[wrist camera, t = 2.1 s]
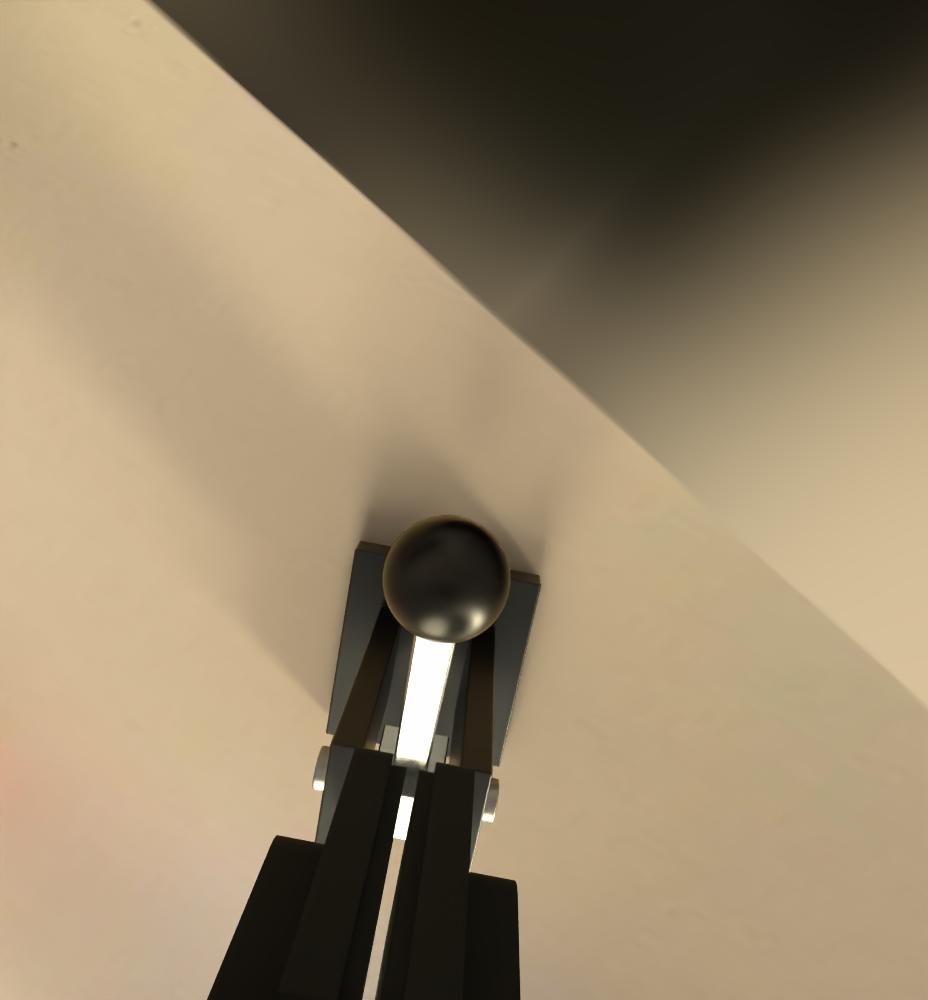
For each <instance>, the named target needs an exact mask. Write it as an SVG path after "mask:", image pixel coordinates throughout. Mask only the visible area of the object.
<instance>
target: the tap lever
mask: <svg viewBox="0 0 928 1000" xmlns="http://www.w3.org/2000/svg"><path fill="white" fill-rule="evenodd" d="M383 590H384V595H385V598H386V601H387V604H388V607H389V609H390V610H391V612H392V614H393V615H394V617H395V618H396V620H397V621H398V622H399V623H400V624H401V625H402V626H403V627H404V628H405V629H406V630H408V631H409V632H410V633H412V634H414V640H413V646H412V652H411V658H410V664H409V670H408V676H407V682H406V688H405V694H404V700H403V706H402V712H401V718H400V724H399V727H397V726H392V725H387V724H385V725H384V728H383V732H382V737H381V741H380V746H379V750H378V751H382V752H387V753H393V754H394V757H393V763H392V765H397V766H402V767H407V770H406V775H405V780H404V785H403V791H402V796H401V801H400V806H399V811H398V817H397V822H396V827H395V832H394V837H393V838H398V839H404V840H405V839H406V834H407V829H408V824H409V819H410V814H411V809H412V804H413V799H414V794H415V789H416V784H417V779H418V774H419V770H423V771H428V772H434V770H435V765H436V762H440V763H445V762H446V756H447V749H448V743H449V737H448V736H444V735H439V734H435V733H436V729H437V724H438V720H439V715H440V711H441V706H442V702H443V697H444V693H445V688H446V684H447V679H448V675H449V670H450V666H451V661H452V657H453V652H454V648H455V643H459V642H463V641H466V640H469V639H471V638H474V637H476V636H478V635H479V634H481V633H482V632H484V631H485V630H486V629H488V628H489V627H490V626H491V625H492V624H493V623H494V622H495V621H496V619H497V618H498V617H499V615H500V614H501V612H502V610H503V609H504V606H505V604H506V601H507V599H508V595H509V590H510V569H509V563H508V560H507V557H506V555H505V552H504V550H503V548H502V547H501V545H500V543H499V542H498V541H497V539H496V538H495V537H494V536H493V535H492V534H491V533H490V532H489V531H488V530H487V529H486V528H484V527H483V526H481V525H480V524H478V523H476V522H474V521H472V520H469V519H467V518H463V517H459V516H453V515H441V516H434V517H430V518H426V519H424V520H421V521H419V522H417V523H415V524H414V525H412V526H411V527H409V528H408V529H407V530H405V531H404V532H403V533H402V534H401V535H400V536H399V537H398V538H397V540H396V541H395V542H394V544H393V545H392V547H391V549H390V550H389V553H388V555H387V558H386V560H385V564H384V569H383Z"/></svg>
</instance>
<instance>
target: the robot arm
mask: <svg viewBox="0 0 928 1000" xmlns="http://www.w3.org/2000/svg"><path fill="white" fill-rule="evenodd" d="M393 757H394V754H393V753H387V752H382V751H377V750H372V749H366V748H361V747H355V750H354V753H353V756H352V759H351V762H350V765H349V768H348V771H347V775H346V778H345V781H344V784H343V787H342V790H341V793H340V797H339V800H338V803H337V806H336V809H335V812H334V816H333V819H332V822H331V825H330V828H329V831H328V834H327V838H326V841H325V844H320V843H315V842H310V841H305V840H300V839H294V838H289V837H284V836H279V835H277V836H276V837H275V838H274V840H273V842H272V844H271V846H270V848H269V851H268V853H267V856H266V858H265V860H264V863H263V865H262V868H261V870H260V873H259V875H258V877H257V880H256V882H255V885H254V887H253V890H252V892H251V894H250V897H249V899H248V902H247V904H246V906H245V909H244V911H243V914H242V916H241V919H240V921H239V923H238V926H237V928H236V931H235V933H234V936H233V938H232V940H231V943H230V945H229V948H228V950H227V953H226V955H225V957H224V960H223V962H222V965H221V967H220V970H219V972H218V974H217V977H216V979H215V982H214V984H213V987H212V989H211V991H210V994H209V996H208V999H207V1000H362V997H363V992H364V987H365V982H366V977H367V972H368V967H369V962H370V957H371V951H372V946H373V941H374V936H375V931H376V926H377V920H378V915H379V910H380V905H381V900H382V894H383V889H384V884H385V879H386V874H387V868H388V863H389V858H390V853H391V848H392V843H393V837H394V832H395V827H396V822H397V817H398V811H399V806H400V801H401V796H402V791H403V785H404V780H405V775H406V770H407V767H402V766H397V765H392V763H393ZM474 779H475V770H474V769H471V768H466V767H460V766H455V765H450V764H445V763H440V762H436V765H435V770H434V772H428V771H423V770H419V774H418V779H417V784H416V789H415V794H414V799H413V804H412V809H411V814H410V819H409V824H408V829H407V834H406V839H405V844H404V850H403V855H402V860H401V865H400V870H399V875H398V880H397V885H396V890H395V895H394V900H393V905H392V910H391V915H390V921H389V926H388V931H387V936H386V941H385V947H384V952H383V958H382V963H381V969H380V974H379V980H378V986H377V991H376V997H375V1000H520V966H519V927H518V892H517V884H516V881H514V880H509V879H504V878H498V877H493V876H488V875H483V874H478V873H472V872H469V870H470V852H471V834H472V816H473V797H474Z"/></svg>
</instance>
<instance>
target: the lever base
mask: <svg viewBox="0 0 928 1000" xmlns="http://www.w3.org/2000/svg"><path fill="white" fill-rule="evenodd" d="M390 549H391V547H389V546H384V545H379V544H374V543H369V542H363V541H360V542H359V544H358V546H357V547H356V549H355V553H354V559H353V566H352V572H351V578H350V585H349V591H348V597H347V604H346V610H345V616H344V622H343V629H342V635H341V641H340V648H339V654H338V660H337V667H336V673H335V679H334V686H333V692H332V698H331V704H330V711H329V717H328V723H327V730H326V733H327V734H331V735H334V736H333V739H332V741H331V745H330V747H328V746H322V748H321V750H320V753H319V756H318V759H317V763H316V767H315V772H314V777H313V789H314V790H319V791H323V794H322V801H321V807H320V813H319V819H318V825H317V832H316V838H315V843H320V844H325V841H326V838H327V834H328V831H329V828H330V825H331V822H332V819H333V816H334V812H335V809H336V806H337V803H338V800H339V797H340V793H341V790H342V787H343V784H344V781H345V778H346V775H347V771H348V768H349V765H350V762H351V759H352V756H353V753H354V750H355V747H361V748H366V749H372V750H374V749H375V746H376V743H378V744H380V741H381V737H382V732H383V728H384V725H385V724H387V725H392V726H397V727H399V724H400V718H401V712H402V706H403V700H404V694H405V688H406V682H407V676H408V670H409V664H410V658H411V652H412V646H413V640H414V634H412V633H410V632H409V631H408V630H406V629H405V628H404V627H403V626H402V625H401V624H400V623H399V622H398V621H397V620H396V618H395V617H394V615H393V614H392V612H391V610H390V609H389V607H388V604H387V601H386V598H385V595H384V590H383V569H384V564H385V560H386V558H387V555H388V553H389V550H390ZM540 587H541V584H540V576H539V575H535V574H529V573H524V572H519V571H514V570H510V590H509V595H508V599H507V601H506V604H505V606H504V609H503V610H502V612H501V614H500V615H499V617H498V618H497V619H496V621H495V622H494V623H493V624H492V625H491V626H490V627H489V628H488V629H486V630H485V631H484V632H482V633H481V634H479V635H478V636H476V637H474V638H471V639H469V640H466V641H463V642H459V643H455V648H454V652H453V657H452V661H451V666H450V670H449V675H448V679H447V684H446V688H445V693H444V697H443V702H442V706H441V711H440V715H439V720H438V724H437V729H436V733H435V734H439V735H444V736H448V737H449V743H448V749H447V756H446V757H450V758H449V764H450V765H455V766H460V767H466V768H471V769H474V770H475V779H474V797H473V816H472V834H471V852H470V870H469V872H470V871H471V867H472V862H473V858H474V853H475V849H476V845H477V840H478V836H479V831H480V827H481V822H486V823H492V822H493V820H494V817H495V812H496V807H497V802H498V794H499V780H498V779H495V778H492V767H493V766H500V762H501V758H502V754H503V749H504V745H505V740H506V736H507V732H508V727H509V723H510V719H511V714H512V710H513V705H514V701H515V697H516V692H517V688H518V684H519V679H520V675H521V670H522V666H523V662H524V657H525V653H526V649H527V644H528V640H529V635H530V631H531V627H532V622H533V618H534V614H535V609H536V605H537V600H538V596H539V592H540Z"/></svg>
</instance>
